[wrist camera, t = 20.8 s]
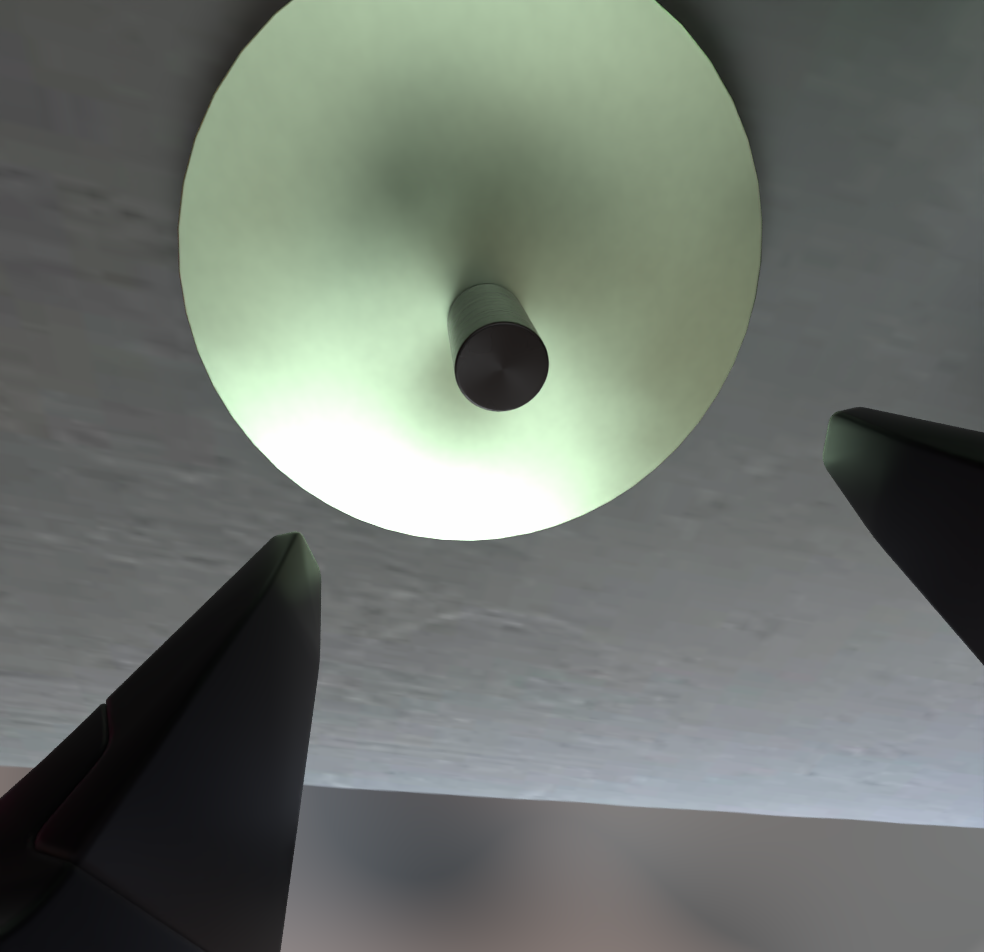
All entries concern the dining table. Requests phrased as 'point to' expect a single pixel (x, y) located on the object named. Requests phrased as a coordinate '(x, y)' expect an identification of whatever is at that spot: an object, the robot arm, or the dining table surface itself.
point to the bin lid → (469, 253)
